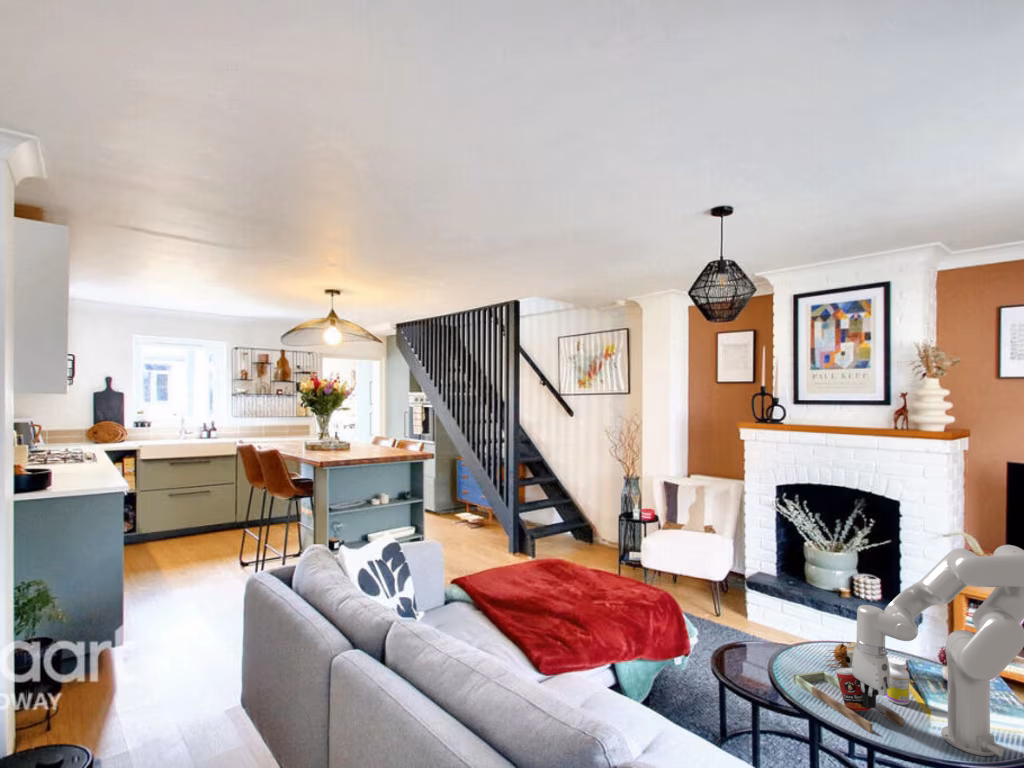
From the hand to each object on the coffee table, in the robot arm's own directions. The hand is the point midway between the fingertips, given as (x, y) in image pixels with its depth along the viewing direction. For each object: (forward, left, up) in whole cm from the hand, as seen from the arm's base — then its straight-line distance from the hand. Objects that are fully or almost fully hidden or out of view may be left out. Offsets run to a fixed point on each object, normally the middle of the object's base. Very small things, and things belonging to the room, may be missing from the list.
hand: (869, 706), depth 172 cm
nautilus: (+30, -23, -4) cm, 39 cm away
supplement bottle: (+7, -19, -4) cm, 21 cm away
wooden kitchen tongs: (+10, -3, -4) cm, 11 cm away
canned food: (+4, -1, -3) cm, 5 cm away
